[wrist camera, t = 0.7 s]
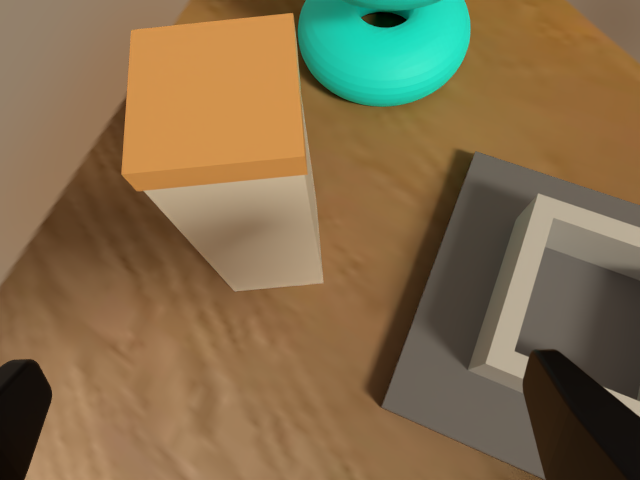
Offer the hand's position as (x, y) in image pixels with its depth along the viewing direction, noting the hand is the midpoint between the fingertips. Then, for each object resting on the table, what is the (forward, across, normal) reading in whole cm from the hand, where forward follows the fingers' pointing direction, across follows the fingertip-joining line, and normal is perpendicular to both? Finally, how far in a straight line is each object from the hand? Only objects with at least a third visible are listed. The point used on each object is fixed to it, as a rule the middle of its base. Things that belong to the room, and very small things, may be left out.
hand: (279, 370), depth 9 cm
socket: (+11, -12, +10) cm, 19 cm away
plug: (+15, +2, +7) cm, 17 cm away
